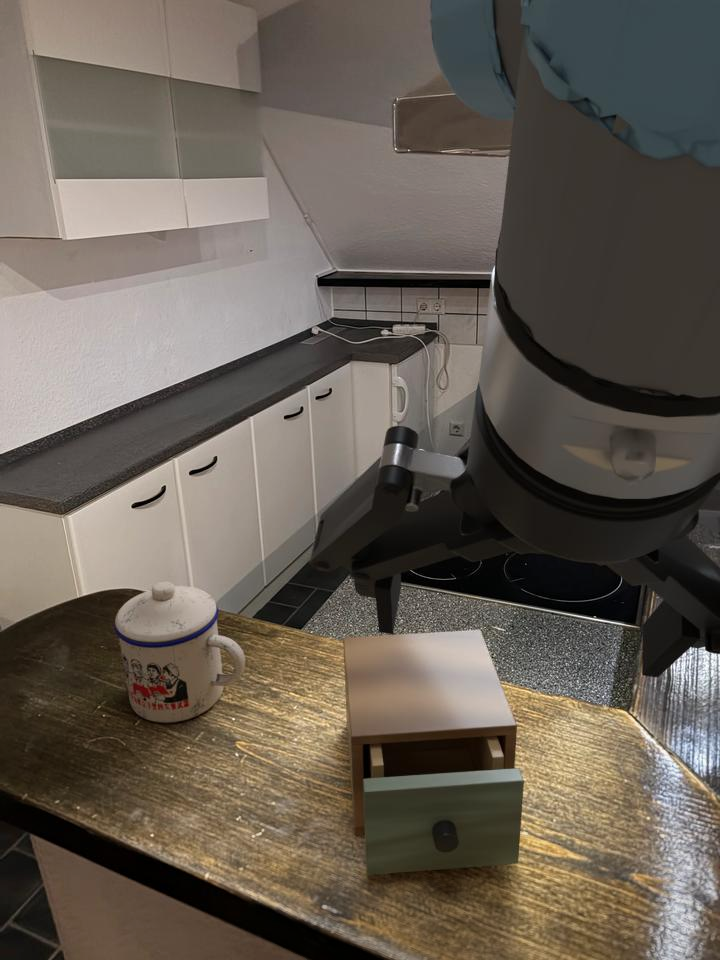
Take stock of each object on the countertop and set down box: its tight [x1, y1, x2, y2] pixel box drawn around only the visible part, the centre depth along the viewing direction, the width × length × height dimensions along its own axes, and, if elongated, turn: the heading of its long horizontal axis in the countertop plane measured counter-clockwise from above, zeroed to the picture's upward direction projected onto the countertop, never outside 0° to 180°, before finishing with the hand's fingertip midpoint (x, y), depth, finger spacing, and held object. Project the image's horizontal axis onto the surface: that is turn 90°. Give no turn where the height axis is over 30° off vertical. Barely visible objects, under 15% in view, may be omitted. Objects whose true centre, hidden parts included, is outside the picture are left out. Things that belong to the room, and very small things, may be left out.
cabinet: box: [342, 629, 518, 837], centre depth 60 cm, size 12×12×9 cm
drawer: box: [363, 736, 525, 876], centre depth 55 cm, size 12×10×7 cm
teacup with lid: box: [113, 580, 246, 724], centre depth 69 cm, size 12×9×12 cm
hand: (516, 629), depth 40 cm, fingers open, 13 cm apart
